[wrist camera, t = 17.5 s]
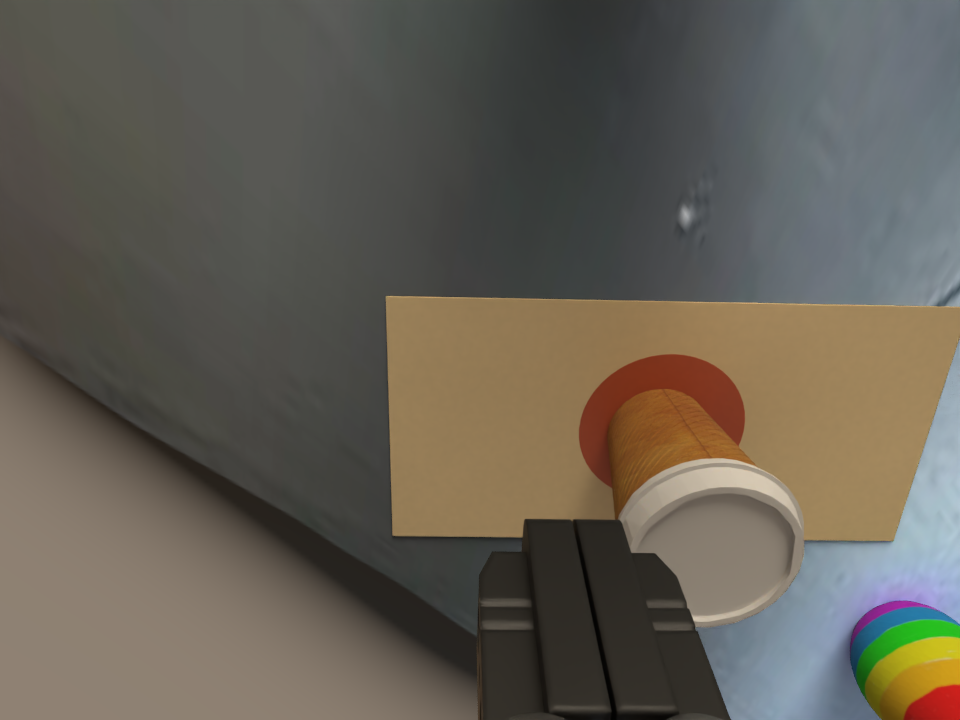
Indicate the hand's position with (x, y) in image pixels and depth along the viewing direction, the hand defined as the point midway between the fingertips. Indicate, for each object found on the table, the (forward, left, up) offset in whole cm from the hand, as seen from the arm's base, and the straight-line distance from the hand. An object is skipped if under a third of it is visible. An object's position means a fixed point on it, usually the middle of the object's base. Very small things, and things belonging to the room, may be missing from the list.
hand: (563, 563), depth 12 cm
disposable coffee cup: (+16, +11, -31) cm, 36 cm away
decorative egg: (+32, +30, -31) cm, 54 cm away
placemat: (+16, +11, -31) cm, 36 cm away
